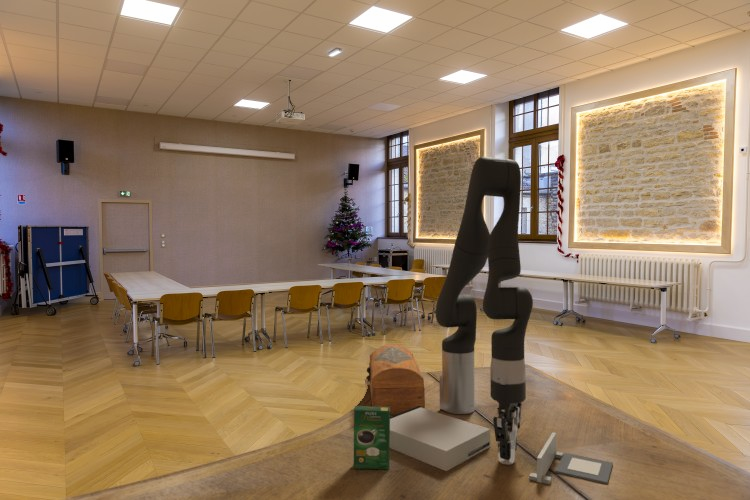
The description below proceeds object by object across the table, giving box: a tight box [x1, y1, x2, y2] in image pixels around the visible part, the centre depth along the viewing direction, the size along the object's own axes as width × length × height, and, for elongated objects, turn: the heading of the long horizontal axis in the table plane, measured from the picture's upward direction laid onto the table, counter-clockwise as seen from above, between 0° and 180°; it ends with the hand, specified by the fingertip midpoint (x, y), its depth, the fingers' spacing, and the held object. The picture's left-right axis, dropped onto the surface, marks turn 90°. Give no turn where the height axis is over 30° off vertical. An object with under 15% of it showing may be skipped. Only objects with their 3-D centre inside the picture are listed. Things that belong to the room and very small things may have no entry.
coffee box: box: [353, 405, 391, 471], centre depth 108 cm, size 8×3×13 cm, turn 86°
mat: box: [555, 452, 613, 485], centre depth 106 cm, size 10×10×1 cm
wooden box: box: [365, 343, 426, 416], centre depth 154 cm, size 30×16×14 cm, turn 1°
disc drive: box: [389, 406, 491, 472], centre depth 120 cm, size 18×22×5 cm
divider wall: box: [528, 431, 564, 485], centre depth 107 cm, size 4×15×5 cm, turn 149°
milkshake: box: [496, 417, 522, 466], centre depth 109 cm, size 4×5×10 cm
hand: (508, 454), depth 109 cm, fingers closed on milkshake, 4 cm apart
